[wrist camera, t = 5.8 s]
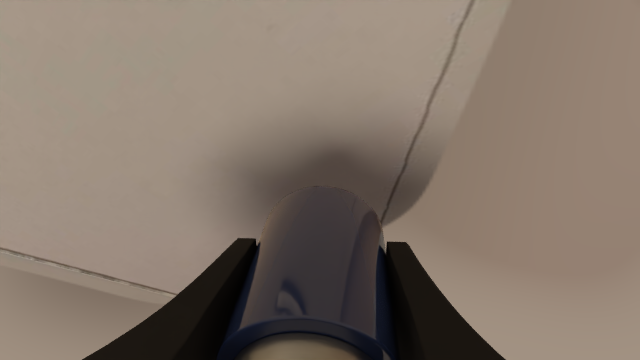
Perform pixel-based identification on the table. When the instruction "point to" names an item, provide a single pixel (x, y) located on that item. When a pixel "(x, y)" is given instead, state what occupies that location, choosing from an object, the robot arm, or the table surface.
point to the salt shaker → (315, 285)
